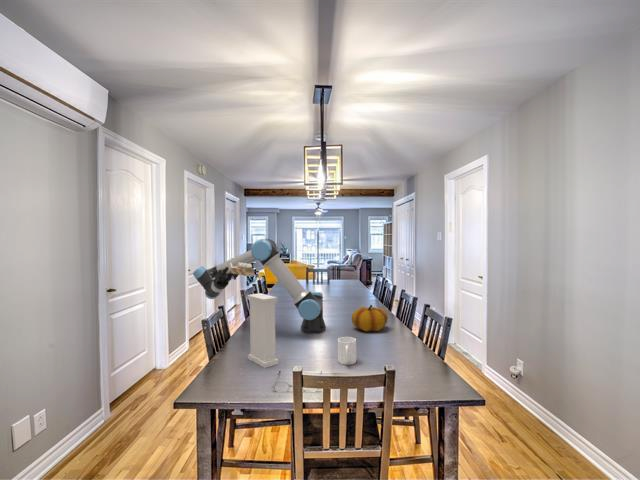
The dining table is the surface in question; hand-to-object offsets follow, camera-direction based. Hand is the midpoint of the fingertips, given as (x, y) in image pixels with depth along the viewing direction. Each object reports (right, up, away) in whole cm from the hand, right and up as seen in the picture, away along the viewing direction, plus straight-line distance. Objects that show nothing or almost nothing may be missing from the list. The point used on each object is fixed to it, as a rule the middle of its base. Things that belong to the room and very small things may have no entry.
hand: (235, 265), depth 180 cm
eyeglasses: (+35, -44, -42) cm, 70 cm away
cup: (+56, -43, -23) cm, 74 cm away
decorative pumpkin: (+74, -41, +31) cm, 90 cm away
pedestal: (+17, -43, -20) cm, 50 cm away
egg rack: (+2, -4, -3) cm, 6 cm away
